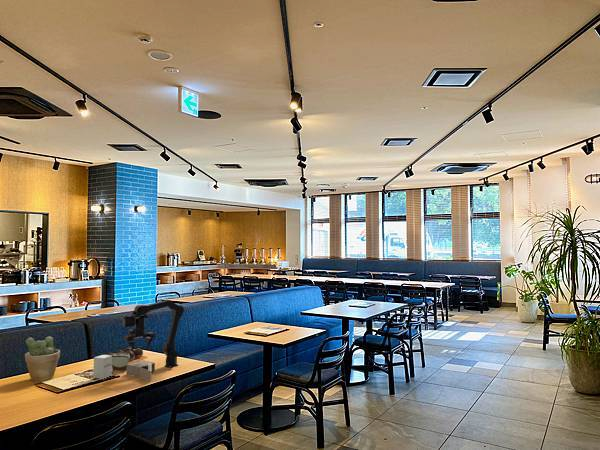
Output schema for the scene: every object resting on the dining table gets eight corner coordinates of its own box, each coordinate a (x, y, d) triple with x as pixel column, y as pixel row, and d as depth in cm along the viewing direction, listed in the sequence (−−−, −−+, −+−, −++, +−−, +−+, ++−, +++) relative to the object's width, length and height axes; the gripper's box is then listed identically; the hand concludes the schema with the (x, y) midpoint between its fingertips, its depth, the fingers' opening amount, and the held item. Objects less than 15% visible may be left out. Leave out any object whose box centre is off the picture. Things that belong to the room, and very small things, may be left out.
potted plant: (48, 372, 280) (49, 332, 281) (66, 377, 270) (67, 335, 272) (17, 380, 264) (18, 337, 265) (36, 385, 255) (36, 340, 256)
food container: (133, 368, 289) (133, 352, 289) (128, 371, 283) (128, 355, 283) (115, 368, 290) (115, 352, 290) (110, 370, 284) (110, 354, 284)
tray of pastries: (128, 356, 321) (128, 345, 321) (147, 358, 315) (147, 346, 316) (98, 367, 294) (98, 354, 295) (119, 369, 289) (119, 355, 289)
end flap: (151, 380, 261) (151, 363, 262) (149, 381, 260) (150, 363, 261) (140, 376, 269) (140, 360, 269) (138, 377, 268) (138, 360, 268)
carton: (143, 369, 285) (143, 360, 286) (155, 372, 279) (155, 362, 279) (126, 374, 275) (126, 364, 276) (138, 377, 269) (138, 367, 269)
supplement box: (103, 379, 264) (103, 358, 265) (93, 378, 267) (93, 357, 267) (112, 376, 271) (112, 355, 272) (102, 375, 274) (102, 354, 274)
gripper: (147, 322, 295) (147, 346, 294) (119, 326, 281) (119, 351, 280) (156, 324, 287) (155, 348, 286) (127, 328, 273) (127, 354, 273)
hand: (139, 350), depth 282 cm, fingers open, 9 cm apart
